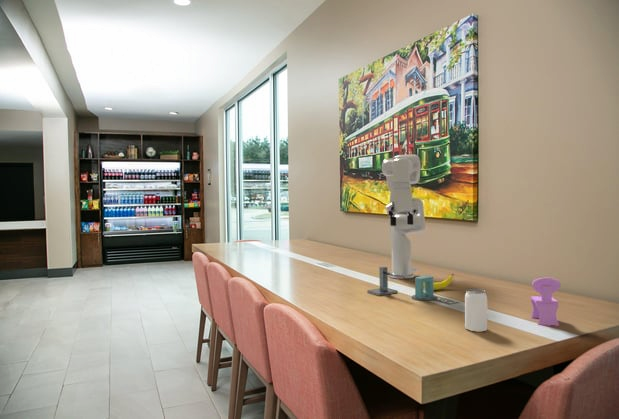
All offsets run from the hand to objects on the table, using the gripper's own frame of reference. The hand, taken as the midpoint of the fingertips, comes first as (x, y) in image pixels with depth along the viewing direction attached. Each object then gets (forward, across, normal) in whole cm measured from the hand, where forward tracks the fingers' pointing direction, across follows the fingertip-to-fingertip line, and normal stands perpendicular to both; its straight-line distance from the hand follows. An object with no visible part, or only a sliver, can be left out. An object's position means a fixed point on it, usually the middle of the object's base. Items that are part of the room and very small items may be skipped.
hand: (401, 225), depth 197 cm
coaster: (+28, +5, +19) cm, 34 cm away
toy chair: (+29, -5, +64) cm, 70 cm away
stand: (+28, +13, +7) cm, 32 cm away
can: (+28, +20, +58) cm, 68 cm away
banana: (+29, -9, +11) cm, 32 cm away
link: (+28, +5, +19) cm, 34 cm away
